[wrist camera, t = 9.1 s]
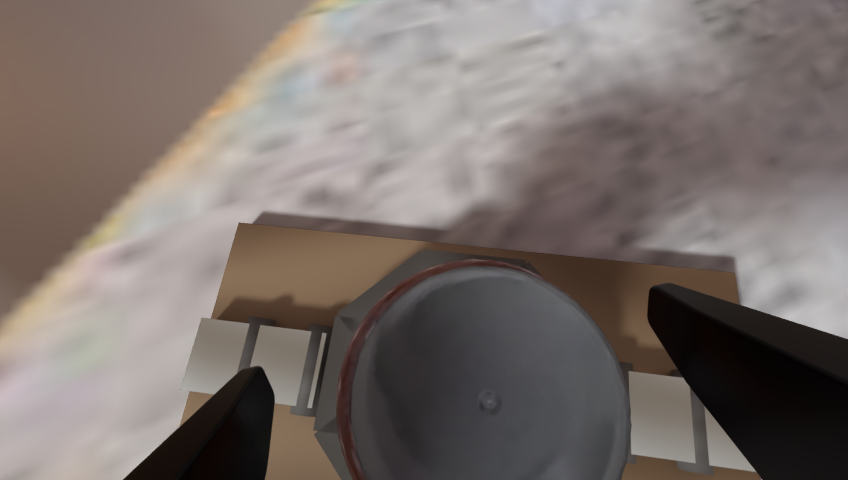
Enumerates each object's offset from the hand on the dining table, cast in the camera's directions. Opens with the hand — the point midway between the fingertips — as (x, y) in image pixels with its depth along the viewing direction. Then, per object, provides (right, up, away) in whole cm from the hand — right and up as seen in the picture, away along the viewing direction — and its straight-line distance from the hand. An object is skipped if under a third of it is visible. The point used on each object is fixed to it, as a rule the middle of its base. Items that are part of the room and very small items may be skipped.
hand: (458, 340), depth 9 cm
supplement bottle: (+1, -4, +7) cm, 8 cm away
